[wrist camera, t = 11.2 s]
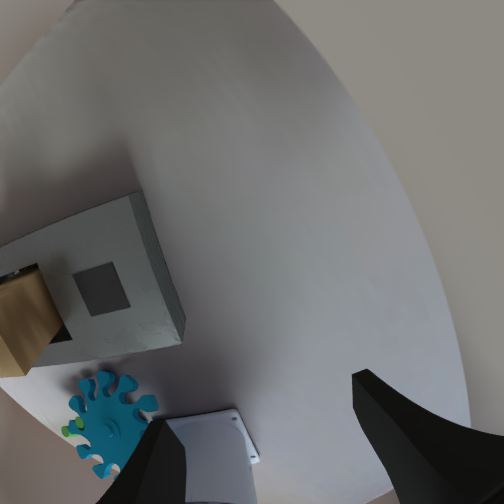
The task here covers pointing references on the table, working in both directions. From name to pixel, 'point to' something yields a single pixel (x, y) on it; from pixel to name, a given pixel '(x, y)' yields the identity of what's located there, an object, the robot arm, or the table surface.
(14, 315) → the peg
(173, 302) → the grey holed base
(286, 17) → the table surface
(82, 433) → the gear
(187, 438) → the robot arm
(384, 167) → the table surface
